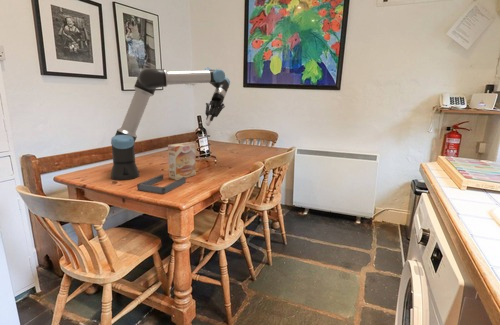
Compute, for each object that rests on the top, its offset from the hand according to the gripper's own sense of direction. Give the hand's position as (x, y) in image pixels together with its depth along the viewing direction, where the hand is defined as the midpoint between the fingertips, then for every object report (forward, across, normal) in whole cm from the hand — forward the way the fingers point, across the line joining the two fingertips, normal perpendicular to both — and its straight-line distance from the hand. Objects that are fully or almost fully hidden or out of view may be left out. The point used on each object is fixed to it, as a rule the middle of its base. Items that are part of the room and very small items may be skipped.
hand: (207, 124), depth 175 cm
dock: (+47, +8, +5) cm, 48 cm away
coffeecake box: (+33, +8, -9) cm, 35 cm away
